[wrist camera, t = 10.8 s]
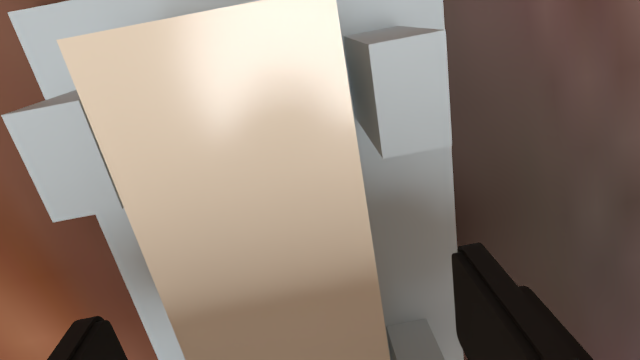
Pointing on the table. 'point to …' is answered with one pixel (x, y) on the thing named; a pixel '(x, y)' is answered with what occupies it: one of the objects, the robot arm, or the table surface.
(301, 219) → the clay bar
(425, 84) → the rack
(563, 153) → the table surface
